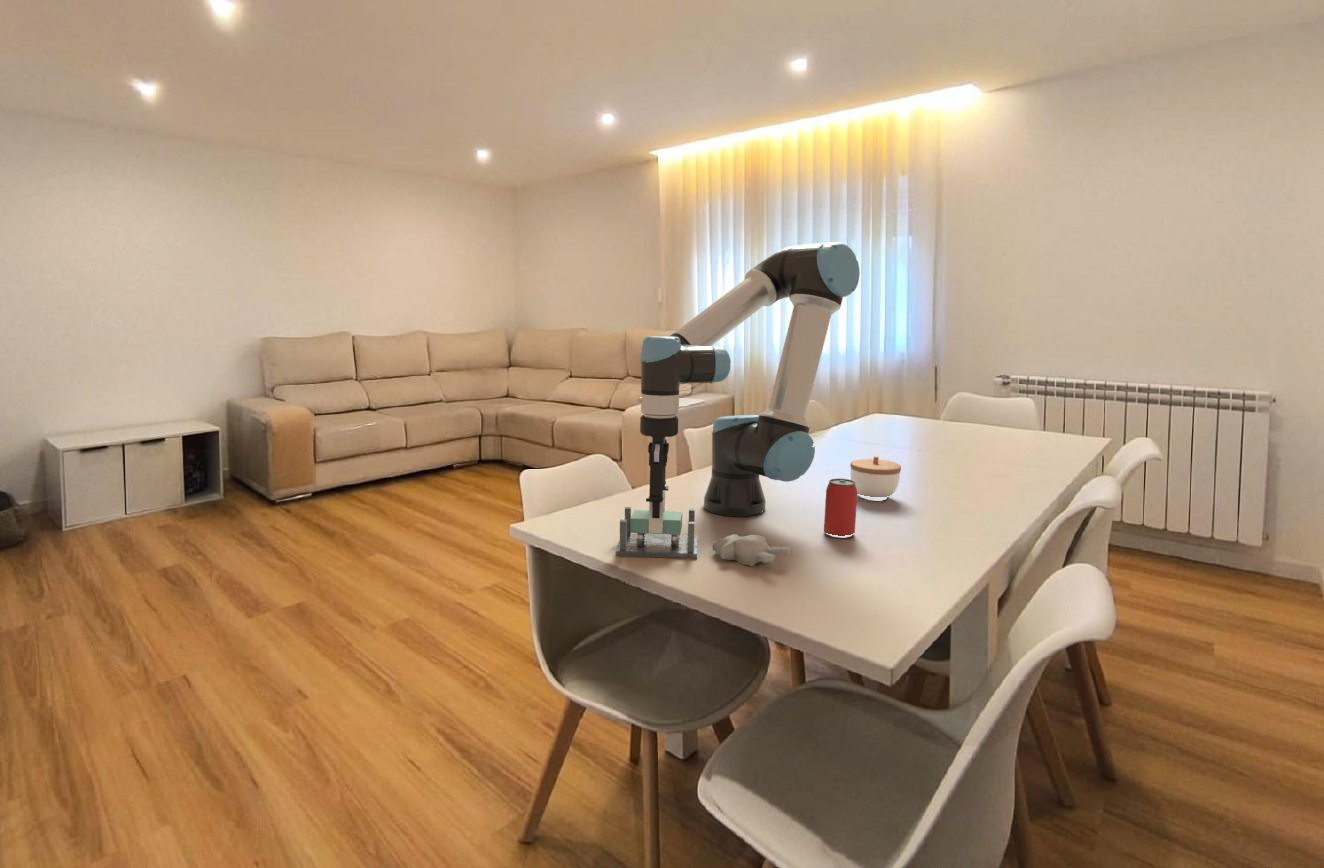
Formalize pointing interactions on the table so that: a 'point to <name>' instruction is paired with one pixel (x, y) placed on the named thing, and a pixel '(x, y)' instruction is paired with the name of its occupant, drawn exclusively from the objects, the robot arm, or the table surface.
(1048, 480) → the table surface
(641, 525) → the green rectangular block
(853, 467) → the lidded bowl
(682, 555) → the chassis
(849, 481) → the beer can
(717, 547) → the bunny figurine
